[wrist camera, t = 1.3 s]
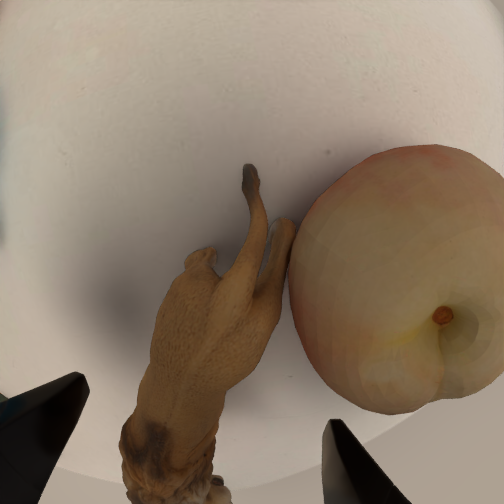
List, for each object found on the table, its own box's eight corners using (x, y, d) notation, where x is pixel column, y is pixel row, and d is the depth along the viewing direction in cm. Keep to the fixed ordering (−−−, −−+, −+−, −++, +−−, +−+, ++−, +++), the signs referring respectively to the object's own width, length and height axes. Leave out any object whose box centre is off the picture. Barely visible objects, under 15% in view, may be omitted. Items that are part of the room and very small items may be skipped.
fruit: (268, 168, 11) (246, 162, 3) (440, 146, 10) (581, 145, 2) (300, 339, 13) (310, 488, 5) (446, 305, 12) (533, 402, 4)
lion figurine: (243, 423, 15) (221, 549, 7) (162, 402, 15) (109, 515, 7) (311, 177, 11) (416, 202, 2) (185, 152, 11) (2, 138, 3)
